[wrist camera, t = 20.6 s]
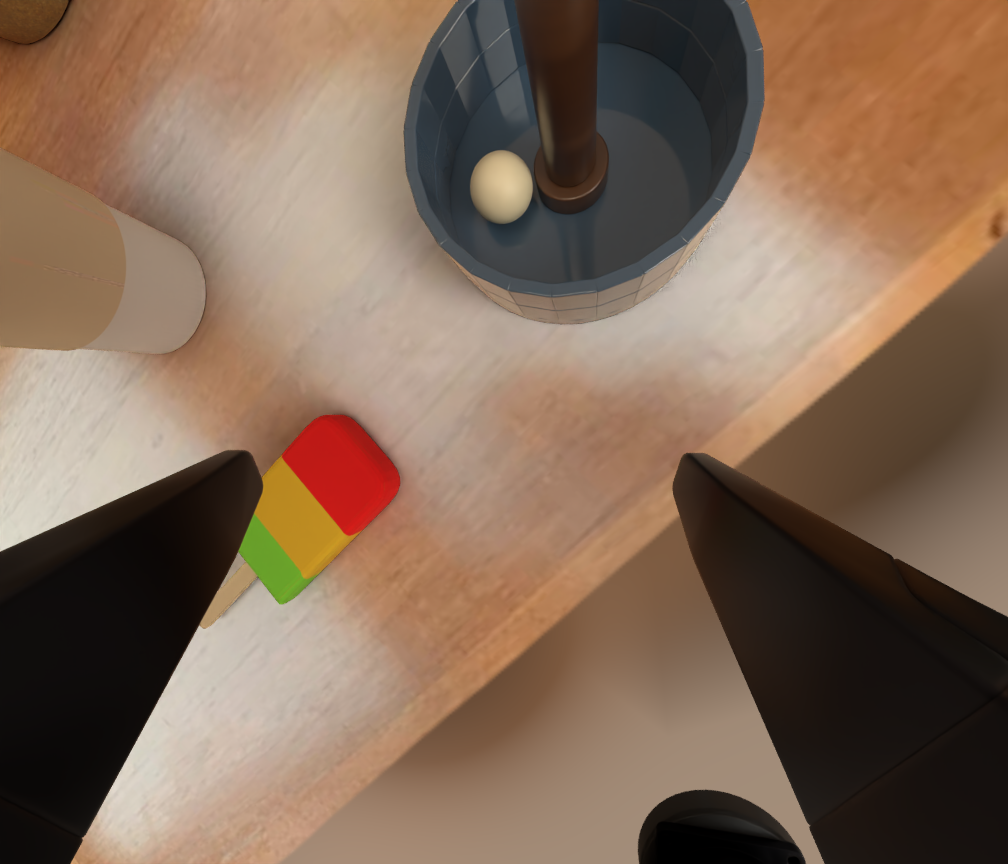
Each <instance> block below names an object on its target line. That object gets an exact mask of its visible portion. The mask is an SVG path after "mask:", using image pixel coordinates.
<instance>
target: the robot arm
mask: <svg viewBox="0 0 1008 864" xmlns="http://www.w3.org/2000/svg"><path fill="white" fill-rule="evenodd" d="M262 492H263V481H262V478H261V475H260V473H259V470H258V468H257V466H256V463H255V461H254V458H253V456H252V454H251V453H250V452H248V451H245V450H227V451H223V452H221V453H219V454H217V455H214V456H212V457H210V458H208V459H206V460H203V461H201V462H199V463H197V464H194V465H192V466H190V467H188V468H186V469H183V470H181V471H179V472H177V473H174V474H172V475H170V476H168V477H166V478H163V479H161V480H159V481H157V482H154V483H152V484H150V485H148V486H145V487H143V488H141V489H139V490H137V491H134V492H132V493H130V494H128V495H125V496H123V497H121V498H119V499H117V500H114V501H112V502H110V503H108V504H105V505H103V506H101V507H99V508H97V509H94V510H92V511H90V512H88V513H85V514H83V515H81V516H79V517H76V518H74V519H72V520H70V521H68V522H65V523H63V524H61V525H59V526H56V527H54V528H52V529H50V530H48V531H45V532H43V533H41V534H39V535H36V536H34V537H32V538H30V539H27V540H25V541H23V542H21V543H19V544H16V545H14V546H12V547H10V548H7V549H5V550H3V551H1V552H0V864H70V863H71V862H72V860H73V858H74V856H75V854H76V852H77V851H78V849H79V847H80V845H81V843H82V841H83V839H82V837H84V836H85V835H86V833H87V831H88V829H89V828H90V826H91V824H92V822H93V820H94V818H95V817H96V815H97V813H98V811H99V809H100V807H101V806H102V804H103V802H104V800H105V798H106V796H107V794H108V793H109V791H110V789H111V787H112V785H113V783H114V782H115V780H116V778H117V776H118V774H119V772H120V770H121V769H122V767H123V765H124V763H125V761H126V759H127V758H128V756H129V754H130V752H131V750H132V748H133V746H134V745H135V743H136V741H137V739H138V737H139V735H140V734H141V732H142V730H143V728H144V726H145V724H146V722H147V721H148V719H149V717H150V715H151V713H152V711H153V710H154V708H155V706H156V704H157V702H158V700H159V698H160V697H161V695H162V693H163V691H164V689H165V687H166V686H167V684H168V682H169V680H170V678H171V676H172V674H173V673H174V671H175V669H176V667H177V665H178V663H179V662H180V660H181V658H182V656H183V654H184V652H185V651H186V649H187V647H188V645H189V643H190V641H191V639H192V638H193V636H194V634H195V632H196V630H197V628H198V627H199V625H200V623H201V621H202V619H203V617H204V615H205V614H206V612H207V610H208V608H209V606H210V604H211V603H212V601H213V599H214V597H215V595H216V593H217V591H218V590H219V588H220V586H221V584H222V582H223V580H224V579H225V577H226V575H227V573H228V571H229V569H230V567H231V565H232V563H233V561H234V560H235V558H236V555H237V553H238V551H239V549H240V546H241V544H242V542H243V539H244V537H245V534H246V532H247V529H248V527H249V524H250V522H251V520H252V517H253V515H254V512H255V510H256V507H257V505H258V502H259V500H260V498H261V495H262ZM673 495H674V498H675V502H676V505H677V508H678V512H679V515H680V518H681V521H682V525H683V528H684V531H685V535H686V538H687V541H688V544H689V548H690V551H691V553H692V556H693V559H694V562H695V564H696V566H697V569H698V571H699V574H700V576H701V578H702V580H703V583H704V585H705V587H706V590H707V592H708V594H709V596H710V599H711V601H712V603H713V606H714V608H715V610H716V613H717V615H718V617H719V620H720V622H721V624H722V627H723V629H724V631H725V633H726V636H727V638H728V641H729V643H730V645H731V648H732V649H733V652H734V654H735V657H736V659H737V661H738V664H739V666H740V668H741V671H742V673H743V675H744V678H745V680H746V682H747V684H748V687H749V689H750V691H751V694H752V696H753V698H754V701H755V703H756V705H757V707H758V710H759V712H760V714H761V717H762V719H763V721H764V723H765V726H766V728H767V731H768V733H769V735H770V738H771V740H772V742H773V745H774V747H775V749H776V752H777V754H778V756H779V758H780V760H781V763H782V765H783V768H784V770H785V772H786V774H787V777H788V779H789V782H790V784H791V786H792V788H793V791H794V793H795V795H796V798H797V800H798V802H799V805H800V807H801V809H802V812H803V814H804V816H805V819H806V821H807V823H808V824H809V825H811V826H810V827H809V828H810V831H811V833H812V836H813V838H814V840H815V843H816V845H817V847H818V849H819V852H820V854H821V857H822V859H823V861H824V863H825V864H1008V617H1007V616H1005V615H1003V614H1001V613H999V612H997V611H995V610H993V609H991V608H989V607H987V606H985V605H983V604H981V603H979V602H977V601H975V600H973V599H971V598H969V597H968V596H966V595H964V594H962V593H960V592H958V591H956V590H954V589H953V588H951V587H949V586H947V585H945V584H943V583H941V582H939V581H938V580H936V579H934V578H932V577H930V576H928V575H926V574H925V573H923V572H921V571H919V570H917V569H915V568H914V567H912V566H910V565H908V564H906V563H905V562H903V561H901V560H899V559H894V558H893V557H892V556H891V555H890V554H888V553H886V552H884V551H882V550H881V549H879V548H877V547H875V546H873V545H872V544H870V543H868V542H866V541H864V540H862V539H861V538H859V537H857V536H855V535H853V534H851V533H850V532H848V531H846V530H844V529H842V528H840V527H839V526H837V525H835V524H833V523H831V522H830V521H828V520H826V519H824V518H822V517H820V516H819V515H817V514H815V513H813V512H811V511H809V510H808V509H806V508H804V507H802V506H800V505H799V504H797V503H795V502H793V501H791V500H789V499H788V498H786V497H784V496H782V495H780V494H779V493H776V492H775V491H773V490H771V489H769V488H768V487H766V486H764V485H762V484H760V483H758V482H756V481H755V480H753V479H751V478H749V477H748V476H746V475H744V474H742V473H740V472H738V471H737V470H735V469H733V468H731V467H729V466H727V465H726V464H724V463H722V462H720V461H718V460H717V459H715V458H713V457H711V456H709V455H707V454H705V453H686V454H684V455H683V456H682V458H681V460H680V463H679V466H678V469H677V472H676V475H675V478H674V481H673ZM664 834H668V835H669V836H665V835H664ZM655 839H656V864H806V861H805V858H804V856H803V854H802V852H801V850H800V849H799V847H798V846H797V845H795V844H794V843H791V842H787V841H781V840H775V839H769V838H763V837H756V836H750V835H744V834H738V833H732V832H726V831H720V830H714V829H708V828H702V827H696V826H690V825H684V824H678V823H672V822H666V821H661V822H659V823H657V825H656V827H655ZM790 856H794V857H790Z"/></svg>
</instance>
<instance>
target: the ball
mask: <svg viewBox="0 0 1008 864" xmlns="http://www.w3.org/2000/svg"><path fill="white" fill-rule="evenodd" d="M532 192H533V182H532V177H531V173H530V171H529V168H528V167H527V165H526V164H525V162H524V161H523V160H522V159H521V158H520V157H519V156H517V155H516V154H514V153H512V152H509V151H505V150H498V151H493V152H491V153H489V154H487V155H485V156H484V157H483V158H482V159H481V160H480V161H479V162H478V163H477V165H476V166H475V168H474V170H473V173H472V176H471V181H470V193H471V198H472V201H473V204H474V206H475V208H476V209H477V211H478V212H479V213H480V215H482V216H483V217H484V218H485V219H487V220H488V221H490V222H493V223H496V224H507V223H511V222H513V221H515V220H517V219H518V218H519V217H521V216H522V215H523V213H524V212H525V211H526V209H527V208H528V206H529V204H530V201H531V198H532Z"/></svg>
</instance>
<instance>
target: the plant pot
mask: <svg viewBox="0 0 1008 864" xmlns="http://www.w3.org/2000/svg"><path fill="white" fill-rule="evenodd" d="M68 1H69V0H0V37H2V38H5V39H8V40H10V41H13V42H17V43H24V44H28V43H33V42H35V41H38V40H40V39H41V38H43V37H45V36H46V35H47V34H48V33H49V32H50V31H51V30H52V29H53V28H54V27H55V26H56V25H57V23H58V22H59V20H60V19H61V17H62V15H63V13H64V11H65V9H66V7H67V4H68Z"/></svg>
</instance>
